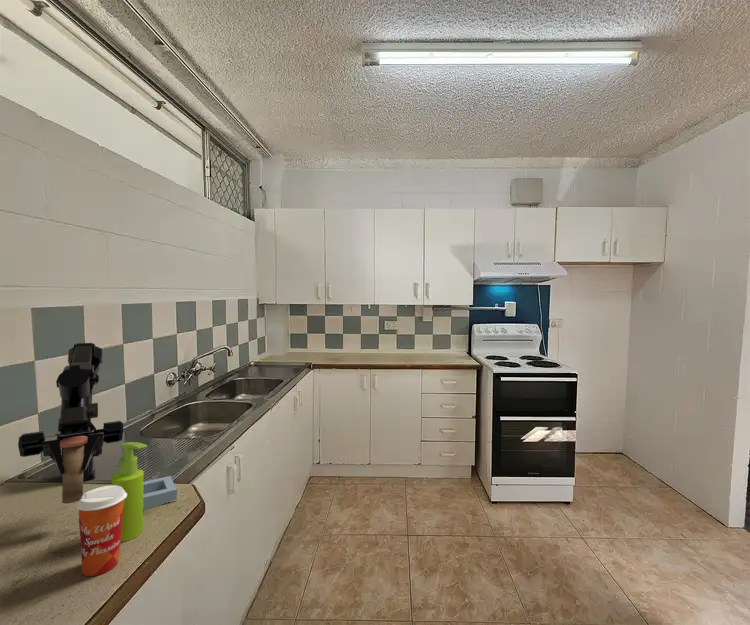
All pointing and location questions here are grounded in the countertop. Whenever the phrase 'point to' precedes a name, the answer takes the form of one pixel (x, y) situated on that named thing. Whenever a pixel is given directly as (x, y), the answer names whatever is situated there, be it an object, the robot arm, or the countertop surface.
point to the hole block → (158, 492)
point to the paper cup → (101, 528)
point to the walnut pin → (73, 468)
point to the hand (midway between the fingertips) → (73, 472)
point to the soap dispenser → (131, 491)
